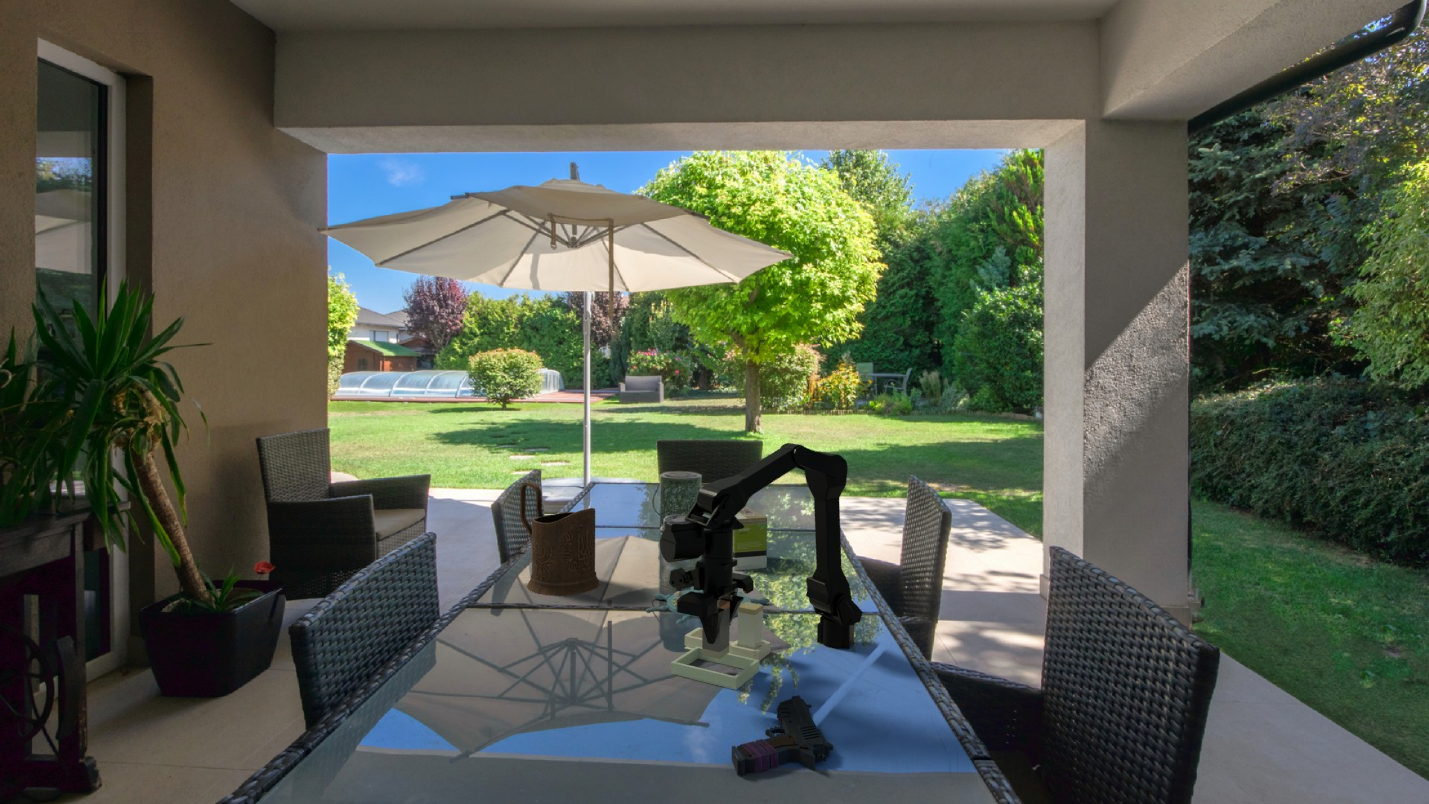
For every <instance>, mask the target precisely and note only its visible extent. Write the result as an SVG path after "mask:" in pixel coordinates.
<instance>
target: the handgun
mask: <svg viewBox="0 0 1429 804" xmlns="http://www.w3.org/2000/svg"><path fill="white" fill-rule="evenodd" d="M812 706H813V705H812V704H811V703H810V704H807V703H806V701H805V700H804V699H803V698H802V697H801V696H800V695H792V696H791V698H789V699H787V700H786V699H785V700H784V701H780V702H779V704H778V705H777V708H776V716H777V720H778V722H779V724H780V725H779V726H777V725H775V726H774V727H772V726H771V727H769V728H767V729H765V732H764V733H765V736H767V737H768V738H765V739H763V738H761V739H757V740H753V741H749V742H745V743H739V745H737V746H736V745H732V746H731V763H732V764H733V767H734V770H735V773H736V775H737V776H744V775H745V773H747V774H754V773H755V774H756V773H760V772H765V771H768V770H770V769H775V768H778V767H780V766H782V765H785V764H789V763H794V764H795V763H796V764H800V765H801V766H803V767H804V768H806V769H808V770H811V771H812V772H815V771H816V762H819V761H823V762H827V759H828V758H829V757H830V751H834V745H833V743H830V742H828V741H827V740H826V739H825V737H824V734H823V733H822V730H821V729H820V728H818V727H817V725H816V724H815V722H814V719H813V717H812V714H811V713H810V708H812ZM775 734H776V735H775Z"/></svg>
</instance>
